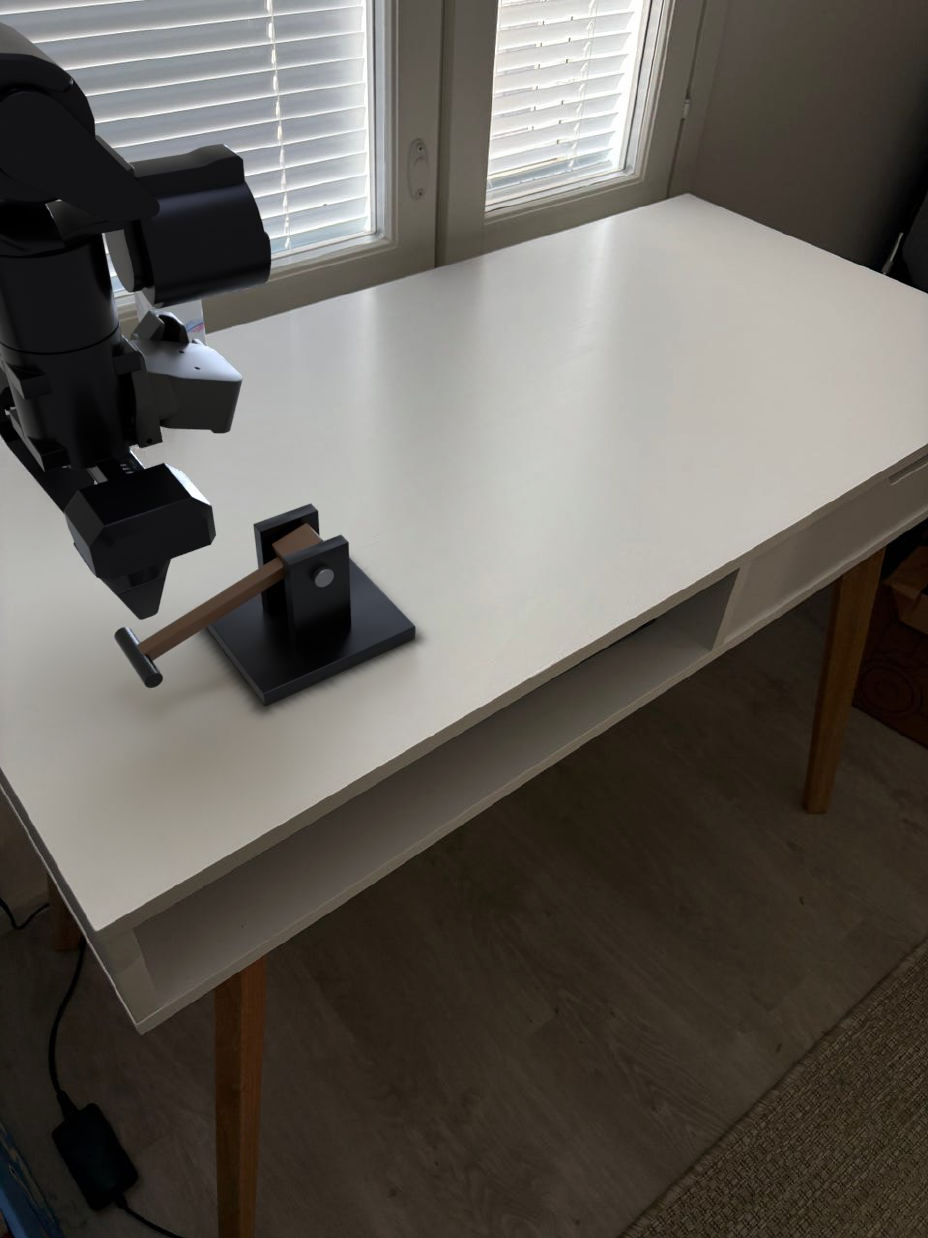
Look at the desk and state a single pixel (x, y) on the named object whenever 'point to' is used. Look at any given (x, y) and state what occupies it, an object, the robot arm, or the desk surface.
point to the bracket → (308, 615)
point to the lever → (209, 609)
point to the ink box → (177, 315)
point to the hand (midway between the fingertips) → (116, 570)
